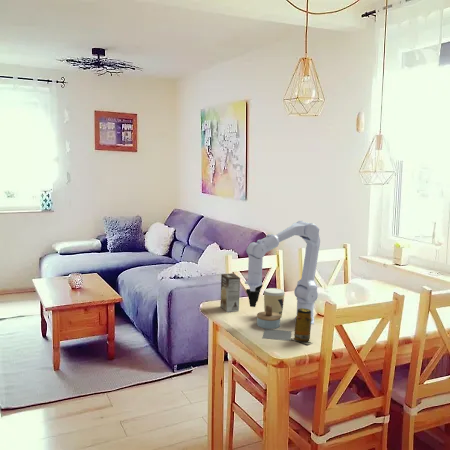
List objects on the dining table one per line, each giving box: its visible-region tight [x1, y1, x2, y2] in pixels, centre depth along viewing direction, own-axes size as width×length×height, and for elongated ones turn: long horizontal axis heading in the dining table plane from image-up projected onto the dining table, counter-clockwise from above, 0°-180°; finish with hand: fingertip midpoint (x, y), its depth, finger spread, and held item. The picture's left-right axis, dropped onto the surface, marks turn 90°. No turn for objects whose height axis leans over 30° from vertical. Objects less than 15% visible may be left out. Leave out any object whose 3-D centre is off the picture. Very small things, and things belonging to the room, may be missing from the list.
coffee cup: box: [263, 287, 286, 319], centre depth 216 cm, size 9×9×12 cm
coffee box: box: [220, 272, 241, 313], centre depth 225 cm, size 9×6×16 cm
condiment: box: [290, 308, 314, 345], centre depth 187 cm, size 7×8×12 cm
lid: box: [256, 305, 282, 321], centre depth 203 cm, size 10×10×5 cm
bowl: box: [256, 317, 281, 330], centre depth 204 cm, size 10×10×4 cm
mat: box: [261, 328, 292, 342], centre depth 192 cm, size 11×11×1 cm
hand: (253, 304), depth 199 cm, fingers open, 7 cm apart
